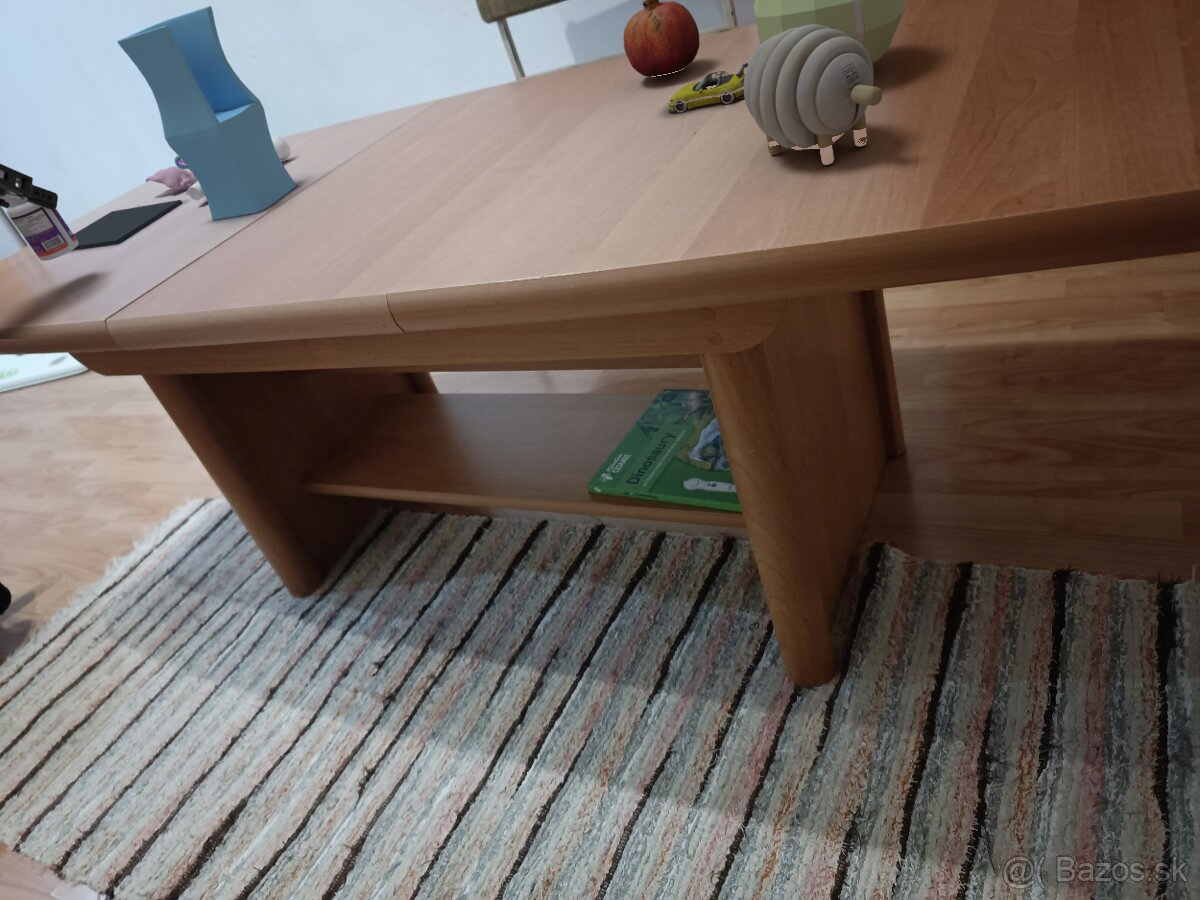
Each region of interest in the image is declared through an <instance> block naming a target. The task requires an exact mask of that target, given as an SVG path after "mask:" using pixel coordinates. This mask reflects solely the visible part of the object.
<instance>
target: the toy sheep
mask: <svg viewBox="0 0 1200 900" xmlns="http://www.w3.org/2000/svg"><path fill="white" fill-rule="evenodd" d="M751 55H752V56H751V57H750V58H749V59H750V60H749V61H748V66H747V68H745V69H746V70H745V73H744V74H745V76H743V77H741V78H740V79H741V80H744V101H745V102H744V103H745V105H746V109H748V112H749V113H750V115H751V117H752V118H753V119H754V121H755V123H756V124H757V127H759V129H760V130H761V131H762V132H763V133H764V134H765V137H766V142H767V141H768V142H771V141H776V142H777V143H778V144H779V145H776V146H772V147H770V146H768V145H767V148H768V153H769V154H770V155H771V156H777V155H779V154H781V152H782V150H783V148H784V149H787V148H792V147H795V146H798V147H801V148H808V147H811V146H813V145H816V144H818V146H819V148H825V147H828V146H830V145H832V143H833V141H832V137H834V136H838V135H841V134H843V133H845V132H846V131H847V132H848V131H849V130H852V129H853V130H861V129H864V128H866V127H867V120H866V113H865V112H866V111H867V108H868V106H871V107H874V106H877V105H879V104H880V103H881V101H882V99H883V91H882V89H881V88H880V87H878V86H874V82H875V80H874V79H875V76H874V73H875V72H874V66H873V64H872V61H871V59H870V56H869V54H868V52H867V50H866V49H865V48H864V46H863V45H862V44H861V43H859V42H858V41H857V40H855V39H852V38H851V37H849V36H848V35H847V34H845V33H844V32H842V31H839V30H836V29H831V28H829V27H826V26H823V25H818V24H812V25H806V26H802V27H797V28H792V29H788V30H786V31H784V32H782V33H780V34H778V35H775V36H773V37H771V38H769V39H767V40H766V41H765V42H763V43H762V44H761V45H759V46H758V47H757V49H755V51H754V52H753V54H751ZM847 132H846V133H847ZM846 133H845V134H846ZM860 139H861V140H860ZM860 139H859V140H860V141H862V142H863V141H864V143H865V141H866V139H867V141H866V143H867V142H868V143H869V135H868V134H867V136H866V137H863V138H860ZM858 142H859V141H858ZM862 142H861V143H862ZM859 143H860V142H859ZM864 143H863V144H864ZM868 143H867V144H868ZM806 150H807V151H809V149H803V150H796V151H798V152H799V151H806Z"/></svg>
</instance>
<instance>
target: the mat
mask: <svg viewBox="0 0 1200 900" xmlns="http://www.w3.org/2000/svg"><path fill="white" fill-rule="evenodd" d="M182 204H183V201H182V200H181V199H177V200H171V201H165V202H160V203H153V204H148V205H141V206H136V207H130V208H124V209H118V210H112V211H110V212H108V213H107V214H105V215H103V216H101V217H99V218H98V219H96V220H95V221H93V222H91V223H90V224H88V225H87V226H85V227H83V228H81V229H80V230H78V231H76V232H75V233H73V234H74V236H75V237H76V239H77V241H78V245H77V247H75V248H74V249H73V250H72V251H77V250H84V249H89V248H96V247H97V248H98V247H105V246H111V245H118V244H121V243H122V242H124V241H125V240H127V239H128V238H130V237H132V236H133V235H135V234H137V233H138V232H140V231H142V230H143V229H144V228H146V227H147V226H149V225H151V224H152V223H153V222H155V221H157V220H159V219H160V218H161V217H163V216H164V215H166V214H167V213H169V212H171V211H173V210H174V209H175V208H177V207H179V206H181V205H182Z"/></svg>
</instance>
